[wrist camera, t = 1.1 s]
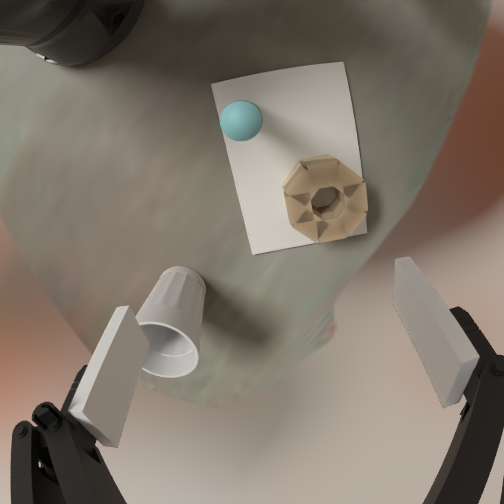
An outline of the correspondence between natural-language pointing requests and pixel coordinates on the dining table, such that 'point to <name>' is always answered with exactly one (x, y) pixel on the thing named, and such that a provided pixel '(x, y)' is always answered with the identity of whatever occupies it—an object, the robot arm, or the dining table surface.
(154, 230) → the dining table surface
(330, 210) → the bead
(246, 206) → the mat
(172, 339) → the cup
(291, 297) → the dining table surface
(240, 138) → the teal marker pen
